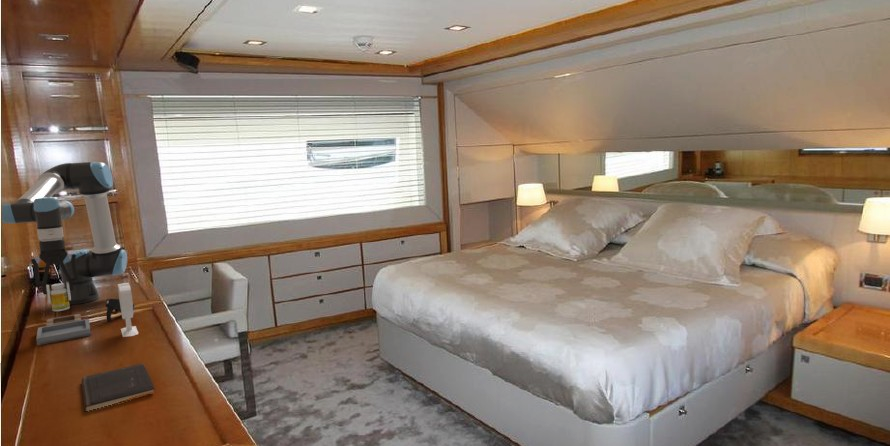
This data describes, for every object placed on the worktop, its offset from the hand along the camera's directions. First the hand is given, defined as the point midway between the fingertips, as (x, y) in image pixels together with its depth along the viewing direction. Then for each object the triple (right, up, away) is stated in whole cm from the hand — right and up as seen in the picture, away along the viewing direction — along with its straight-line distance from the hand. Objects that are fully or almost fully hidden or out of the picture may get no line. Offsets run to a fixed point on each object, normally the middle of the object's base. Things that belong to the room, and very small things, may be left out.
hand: (59, 300), depth 198 cm
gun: (+9, -10, +23) cm, 27 cm away
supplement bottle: (0, -3, 0) cm, 3 cm away
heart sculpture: (+24, -12, +3) cm, 27 cm away
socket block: (-8, -12, +13) cm, 19 cm away
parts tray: (0, -13, +2) cm, 13 cm away
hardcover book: (+51, -18, -48) cm, 72 cm away
